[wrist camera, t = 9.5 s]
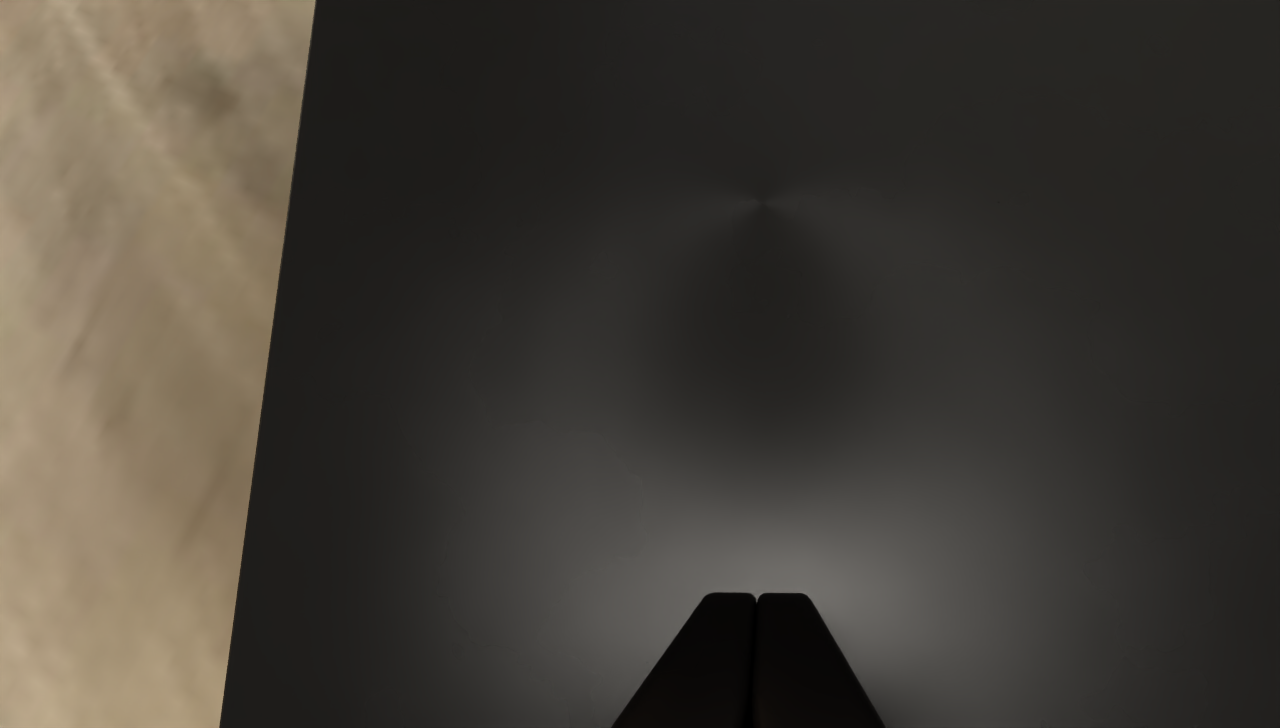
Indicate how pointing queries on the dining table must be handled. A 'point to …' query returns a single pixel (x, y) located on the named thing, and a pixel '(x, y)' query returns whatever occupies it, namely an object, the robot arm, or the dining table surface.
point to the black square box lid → (774, 359)
